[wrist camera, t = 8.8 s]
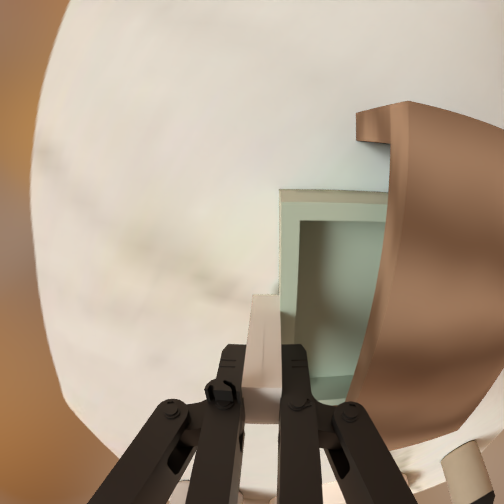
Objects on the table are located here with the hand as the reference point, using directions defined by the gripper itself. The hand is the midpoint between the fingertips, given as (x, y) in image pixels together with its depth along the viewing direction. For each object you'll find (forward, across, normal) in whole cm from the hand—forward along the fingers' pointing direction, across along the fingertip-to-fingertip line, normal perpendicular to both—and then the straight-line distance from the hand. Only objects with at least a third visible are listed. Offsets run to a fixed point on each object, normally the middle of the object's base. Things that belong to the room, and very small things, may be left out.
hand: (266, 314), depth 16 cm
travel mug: (+2, +37, -38) cm, 53 cm away
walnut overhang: (+1, +11, 0) cm, 11 cm away
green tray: (+1, +7, 0) cm, 7 cm away
